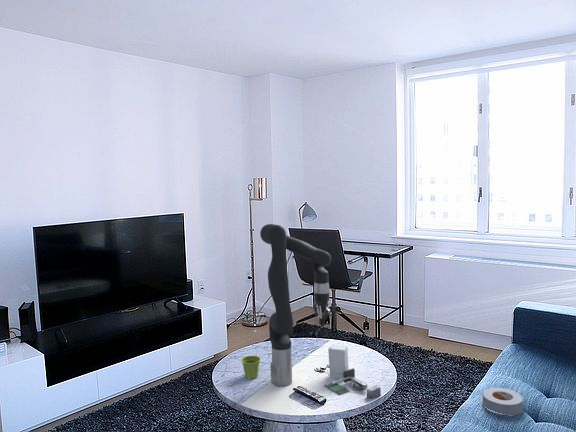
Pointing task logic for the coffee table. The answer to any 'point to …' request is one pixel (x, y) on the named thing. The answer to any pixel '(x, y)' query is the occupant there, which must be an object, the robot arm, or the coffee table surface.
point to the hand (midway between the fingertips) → (322, 325)
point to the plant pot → (251, 366)
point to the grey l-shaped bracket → (351, 378)
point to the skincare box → (338, 361)
